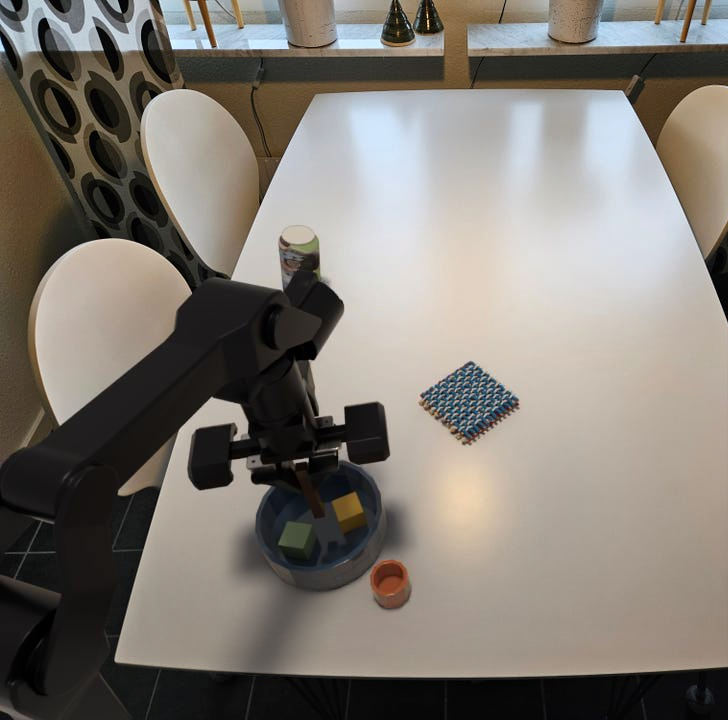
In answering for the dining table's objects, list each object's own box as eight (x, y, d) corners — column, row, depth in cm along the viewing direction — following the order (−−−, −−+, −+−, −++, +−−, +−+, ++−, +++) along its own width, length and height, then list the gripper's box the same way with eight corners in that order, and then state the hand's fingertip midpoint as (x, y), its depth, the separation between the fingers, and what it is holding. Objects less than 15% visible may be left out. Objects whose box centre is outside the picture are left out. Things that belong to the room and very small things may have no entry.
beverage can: (281, 287, 107) (262, 228, 98) (324, 275, 109) (309, 215, 100) (290, 311, 103) (271, 251, 94) (335, 298, 105) (320, 238, 96)
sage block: (284, 556, 75) (277, 544, 72) (293, 533, 77) (287, 520, 74) (308, 560, 74) (303, 548, 72) (317, 536, 76) (312, 524, 74)
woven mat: (471, 364, 95) (471, 354, 94) (522, 405, 90) (523, 396, 88) (416, 402, 90) (414, 393, 89) (466, 448, 85) (465, 439, 84)
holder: (375, 611, 71) (371, 598, 68) (373, 576, 73) (368, 563, 71) (412, 604, 71) (409, 591, 69) (408, 570, 74) (405, 556, 71)
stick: (314, 519, 73) (294, 472, 66) (314, 509, 74) (294, 462, 67) (325, 517, 74) (306, 470, 66) (324, 508, 74) (306, 460, 67)
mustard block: (343, 534, 76) (338, 521, 74) (335, 513, 78) (331, 501, 76) (367, 524, 77) (363, 511, 75) (359, 504, 79) (355, 491, 77)
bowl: (264, 601, 72) (251, 582, 68) (268, 491, 81) (258, 469, 77) (392, 578, 73) (386, 558, 70) (381, 472, 83) (376, 450, 79)
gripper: (371, 321, 64) (389, 416, 76) (177, 347, 62) (226, 441, 74) (380, 407, 57) (398, 498, 69) (160, 440, 55) (217, 529, 66)
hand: (309, 488), depth 70 cm, fingers closed on stick, 1 cm apart
